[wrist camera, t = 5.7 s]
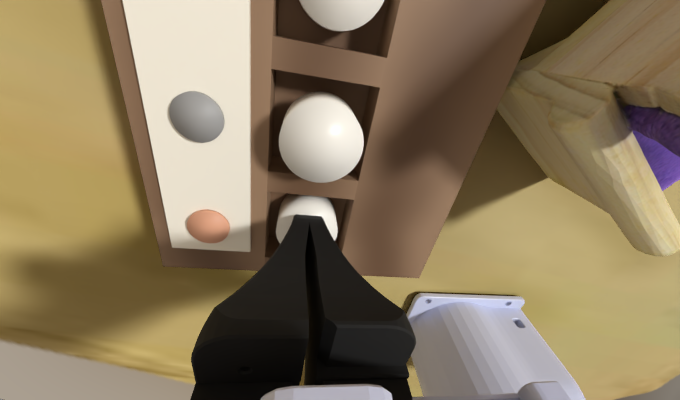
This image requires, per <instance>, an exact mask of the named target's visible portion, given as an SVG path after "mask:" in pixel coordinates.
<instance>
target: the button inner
mask: <svg viewBox="0 0 680 400" xmlns="http://www.w3.org/2000/svg"><path fill="white" fill-rule="evenodd" d="M296 214H299V215H311V216H322V218H323V219H324V221H325V224H326V226H327V228H328V230H329V232H330V234H331V236H332V237H333V239H334V241H335V240H336V238H337V233H338V228H337V222H336V215H335V208H334V205H333V203H332V201H331V200H330V198H329V197H320V196H309V195H299V194H289V195H288V196H286V197H285V199H284V200H283V201H282V203H281V205H280V209H279V215H278V221H277V227H276V236H277V239H278V241H279V243H281V242H282V240H283V239H284V237H285V235H286V233H287V232H288V230H289V228H290V226H291V223H292V220H293V217H294V215H296Z"/></svg>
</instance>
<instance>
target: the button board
mask: <svg viewBox="0 0 680 400" xmlns="http://www.w3.org/2000/svg"><path fill="white" fill-rule="evenodd" d="M101 2H102V7H103V11H104V15H105V19H106V24H107V28H108V32H109V37H110V41H111V45H112V49H113V54H114V58H115V62H116V67H117V71H118V75H119V79H120V84H121V88H122V92H123V96H124V101H125V105H126V109H127V114H128V118H129V122H130V126H131V131H132V135H133V139H134V144H135V148H136V152H137V156H138V161H139V165H140V169H141V174H142V178H143V182H144V186H145V191H146V195H147V199H148V204H149V208H150V212H151V216H152V221H153V225H154V229H155V233H156V238H157V242H158V246H159V251H160V255H161V259H162V263H163V266H166V267H188V268H210V269H232V270H254V271H259V270H260V269H261V268H262V267H263V266H264V265H265V263H266V262H267V261H268V260H269V259H270V257H271V256H272V255H273V253H274V252H275V251H276V249H277V248H278V246H279V245H280V243H279V241H278V239H277V236H276V227H277V221H278V215H279V209H280V205H281V203H282V201H283V200H284V199H285V197H286V196H288V195H289V194H299V195H309V196H320V197H329V198H330V200H331V201H332V203H333V205H334V208H335V215H336V222H337V228H338V233H337V238H336V240H335V242H336V244H337V246H338V247H339V249H340V250H341V252H342V253H343V255H344V256H345V257H346V259H347V260H348V261H349V263H350V264H351V265H352V266H353V267H354V269H355V270H356V271H357V272H358V273H359V274H360V275H363V276H385V277H407V278H419V277H420V275H421V273H422V271H423V268H424V266H425V264H426V262H427V260H428V257H429V255H430V253H431V251H432V249H433V247H434V244H435V242H436V240H437V238H438V236H439V233H440V231H441V229H442V227H443V225H444V223H445V220H446V218H447V216H448V214H449V212H450V209H451V207H452V205H453V203H454V201H455V199H456V196H457V194H458V192H459V190H460V188H461V185H462V183H463V181H464V179H465V177H466V175H467V172H468V170H469V168H470V166H471V164H472V161H473V159H474V157H475V155H476V153H477V151H478V148H479V146H480V144H481V142H482V140H483V137H484V135H485V133H486V131H487V129H488V127H489V124H490V122H491V120H492V118H493V116H494V113H495V111H496V109H497V107H498V105H499V103H500V100H501V98H502V96H503V94H504V92H505V89H506V87H507V85H508V83H509V81H510V79H511V76H512V74H513V72H514V70H515V68H516V65H517V63H518V61H519V59H520V57H521V55H522V52H523V50H524V48H525V46H526V44H527V41H528V39H529V37H530V35H531V33H532V31H533V28H534V26H535V24H536V22H537V20H538V17H539V15H540V13H541V11H542V9H543V7H544V4H545V2H546V0H384V2H383V4H382V6H381V8H380V9H379V11H378V12H377V13H376V14H375V16H374V17H373V18H372V19H371V20H370V21H368V22H367V23H366V24H364V25H363V26H361V27H359V28H356V29H353V30H349V31H330V30H327V29H324V28H322V27H320V26H319V25H317V24H316V23H315V22H313V21H312V20H311V19H310V18H309V17H308V15H307V14H306V12H305V11H304V9H303V8H302V6H301V4H300V1H299V0H250V18H251V251H250V252H239V251H222V250H204V249H187V248H172V245H171V240H170V235H169V230H168V225H167V220H166V215H165V210H164V205H163V200H162V195H161V190H160V185H159V180H158V175H157V170H156V165H155V160H154V155H153V150H152V145H151V140H150V135H149V130H148V125H147V120H146V115H145V110H144V105H143V100H142V95H141V90H140V85H139V80H138V75H137V70H136V65H135V60H134V55H133V50H132V45H131V40H130V36H129V31H128V26H127V21H126V16H125V11H124V6H123V1H122V0H101ZM311 92H328V93H331V94H334V95H336V96H338V97H340V98H341V99H342V100H344V101H345V102H346V103H347V104H348V105H349V107H350V108H351V110H352V111H353V113H354V115H355V117H356V119H357V121H358V122H359V124H360V126H361V129H362V132H363V138H364V146H363V152H362V155H361V158H360V160H359V162H358V163H357V165H356V166H355V167H354V169H353V170H352V171H351V172H349V173H348V174H347V175H345V176H344V177H342V178H340V179H338V180H335V181H332V182H326V183H317V182H311V181H307V180H305V179H302V178H301V177H299V176H297V175H296V174H294V173H293V172H292V171H291V170H290V169H289V168H288V167H287V165H286V164H285V162H284V161H283V159H282V156H281V153H280V149H279V134H280V131H281V127H282V124H283V120H284V117H285V114H286V112H287V110H288V108H289V107H290V105H291V104H292V103H293V102H294V101H295V100H296V99H298V98H299V97H301V96H303V95H305V94H308V93H311Z"/></svg>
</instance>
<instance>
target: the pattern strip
mask: <svg viewBox="0 0 680 400" xmlns="http://www.w3.org/2000/svg"><path fill="white" fill-rule="evenodd" d="M122 1H123V6H124V11H125V16H126V21H127V26H128V31H129V36H130V40H131V45H132V50H133V55H134V60H135V65H136V70H137V75H138V80H139V85H140V90H141V95H142V100H143V105H144V110H145V115H146V120H147V125H148V130H149V135H150V140H151V145H152V150H153V155H154V160H155V165H156V170H157V175H158V180H159V185H160V190H161V195H162V200H163V205H164V210H165V215H166V220H167V225H168V230H169V235H170V240H171V245H172V248H187V249H204V250H222V251H239V252H250V251H251V18H250V0H122Z"/></svg>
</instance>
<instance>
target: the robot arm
mask: <svg viewBox="0 0 680 400" xmlns="http://www.w3.org/2000/svg"><path fill="white" fill-rule="evenodd" d="M524 303H525V301H524V300H523V298H522V297H519V296H492V295H463V294H435V293H419V294H417V295H416V296H415V297H414V299H413V301H412V304H411V306H410V308H409V310H408V312H407V314H405V312H404V310H402V309H401V308H399V307H398V306H397V305H395V304H394V303H392V302H391V301H389V300H388V299H387V298H385V297H384V296H383V295H382V294H380V293H379V292H378V291H377V290H376V289H374V288H373V287H372V286H371V285H370V284H369V283H368V282H367V281H366V280H365V279H364V278H363V277H362V276H361V275H360V274H359V273H358V272H357V271H356V270H355V269H354V267H353V266H352V265H351V264H350V263H349V261H348V260H347V259H346V257H345V256H344V255H343V253H342V252H341V250H340V249H339V247H338V246H337V244H336V242H335V241H334V239H333V237H332V236H331V234H330V232H329V230H328V228H327V226H326V224H325V221H324V219H323V218H322V216H311V215H299V214H296V215H294V217H293V220H292V223H291V226H290V228H289V230H288V232H287V233H286V235H285V237H284V239H283V240H282V242H281V243H280V245H279V246H278V248H277V249H276V251H275V252H274V253H273V255H272V256H271V257H270V259H269V260H268V261H267V262H266V263H265V265H264V266H263V267H262V268H261V269H260V270H259V271H258V272H257V273H256V274H255V275H254V276H253V277H252V278H251V279H250V280H249V281H248V282H247V283H245V284H244V285H243V286H242V287H241V288H240V289H239V290H237V291H236V292H235V293H234V294H232V295H231V296H230V297H228V298H227V299H226V300H224V301H223V302H222V303H220V304H219V305H217V306H216V307H215V308H214V309H213V311H212V312H211V314H210V316H209V317H208V319H207V321H206V322H205V324H204V326H203V328H202V330H201V332H200V334H199V336H198V339H197V341H196V344H195V347H194V350H193V352H192V357H191V362H192V367H193V372H194V376H195V381H196V384H195V387H194V391H193V393H192V397H191V400H585V397H584V395H583V393H582V391H581V390H580V388H579V386H578V384H577V383H576V382H575V380H574V379H573V377H572V376H571V375H570V373H569V372H568V371H567V369H566V368H565V367H564V365H563V364H562V363H561V362H560V360H559V359H558V358H557V356H556V355H555V354H554V352H553V351H552V350H551V348H550V347H549V346H548V345H547V343H546V342H545V341H544V339H543V338H542V337H541V335H540V334H539V333H538V331H537V330H536V329H535V328H534V326H533V325H532V324H531V322H530V321H529V320H528V318H527V317H526V316H525V314H524V313H523V312H522V310H521V309H520V308H521V307H522V306H523V305H524ZM410 356H411V358H412V361H413V364H414V367H415V370H416V373H417V377H418V380H419V383H420V386H421V389H422V393H423V396H424V397H412V395H411V392H410V388H409V385H408V381H407V379H408V377H409V372H408V369H407V366H406V363H407V361H408V359H409V358H410ZM304 360H305V381H304V386H299V383H300V381H301V376H302V371H303V365H304ZM0 400H3V399H0Z"/></svg>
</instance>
